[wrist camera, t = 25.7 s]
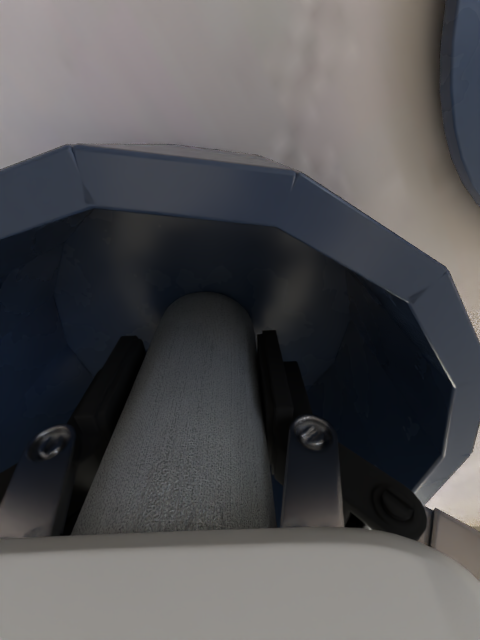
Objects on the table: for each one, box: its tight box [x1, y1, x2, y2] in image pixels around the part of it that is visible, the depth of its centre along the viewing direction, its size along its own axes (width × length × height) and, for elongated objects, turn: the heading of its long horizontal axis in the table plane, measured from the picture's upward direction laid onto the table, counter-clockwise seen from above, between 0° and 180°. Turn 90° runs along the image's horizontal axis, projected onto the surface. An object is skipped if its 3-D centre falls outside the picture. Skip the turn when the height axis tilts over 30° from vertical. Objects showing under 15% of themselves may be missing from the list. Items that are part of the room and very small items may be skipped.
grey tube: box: [70, 292, 277, 536], centre depth 9 cm, size 4×4×10 cm
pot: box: [0, 144, 480, 528], centre depth 11 cm, size 15×21×8 cm
